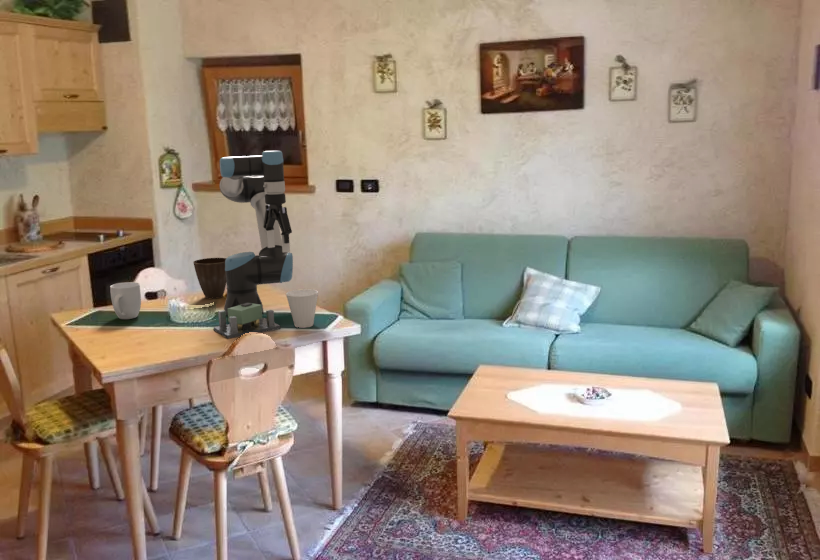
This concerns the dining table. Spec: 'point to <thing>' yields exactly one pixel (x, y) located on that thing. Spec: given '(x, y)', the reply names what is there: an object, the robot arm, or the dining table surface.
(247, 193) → the robot arm
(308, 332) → the dining table surface
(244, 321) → the block
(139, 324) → the dining table surface
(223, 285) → the plant pot
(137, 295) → the mug
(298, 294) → the cup
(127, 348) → the dining table surface
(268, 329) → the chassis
